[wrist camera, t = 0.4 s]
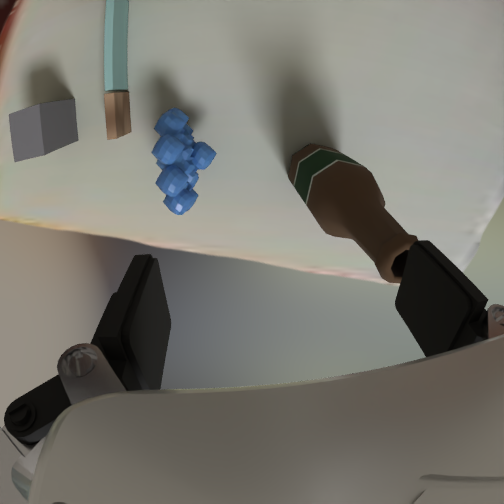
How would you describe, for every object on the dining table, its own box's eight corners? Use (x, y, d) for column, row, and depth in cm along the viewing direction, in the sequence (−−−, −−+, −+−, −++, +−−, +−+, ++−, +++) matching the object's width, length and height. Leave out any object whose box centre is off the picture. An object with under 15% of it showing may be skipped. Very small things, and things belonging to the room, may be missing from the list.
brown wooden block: (124, -34, 22) (110, -48, 17) (133, -35, 22) (120, -51, 17) (122, 133, 34) (106, 140, 29) (131, 132, 34) (115, 138, 29)
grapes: (224, 187, 39) (222, 225, 29) (174, 195, 39) (155, 234, 29) (212, 100, 33) (205, 103, 23) (159, 110, 33) (130, 118, 23)
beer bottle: (274, 178, 39) (329, 286, 18) (307, 130, 36) (407, 186, 15) (320, 206, 42) (399, 323, 21) (352, 162, 39) (465, 246, 18)
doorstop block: (46, 106, 30) (8, 114, 23) (74, 98, 31) (39, 103, 23) (50, 146, 33) (14, 162, 26) (78, 140, 34) (44, 155, 26)
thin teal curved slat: (120, 3, 25) (106, -8, 20) (128, 1, 25) (115, -10, 20) (119, 90, 31) (104, 90, 27) (127, 89, 31) (112, 89, 27)
